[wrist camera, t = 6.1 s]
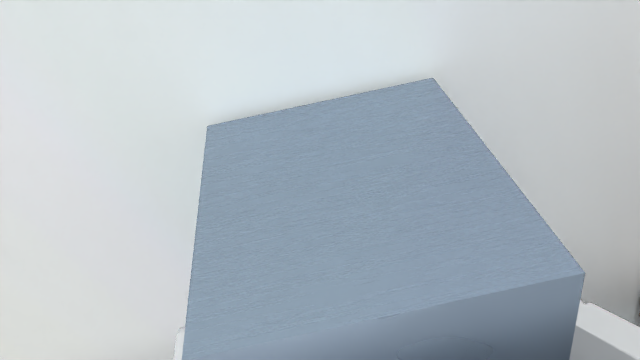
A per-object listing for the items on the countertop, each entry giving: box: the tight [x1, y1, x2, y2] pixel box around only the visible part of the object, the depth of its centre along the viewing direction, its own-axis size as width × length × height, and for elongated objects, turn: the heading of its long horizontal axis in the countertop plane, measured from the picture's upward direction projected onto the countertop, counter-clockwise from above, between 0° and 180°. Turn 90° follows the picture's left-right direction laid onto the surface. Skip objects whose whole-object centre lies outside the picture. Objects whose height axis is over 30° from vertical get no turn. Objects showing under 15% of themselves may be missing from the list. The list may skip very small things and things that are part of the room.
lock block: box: [182, 78, 585, 360], centre depth 11 cm, size 8×5×6 cm, turn 10°
